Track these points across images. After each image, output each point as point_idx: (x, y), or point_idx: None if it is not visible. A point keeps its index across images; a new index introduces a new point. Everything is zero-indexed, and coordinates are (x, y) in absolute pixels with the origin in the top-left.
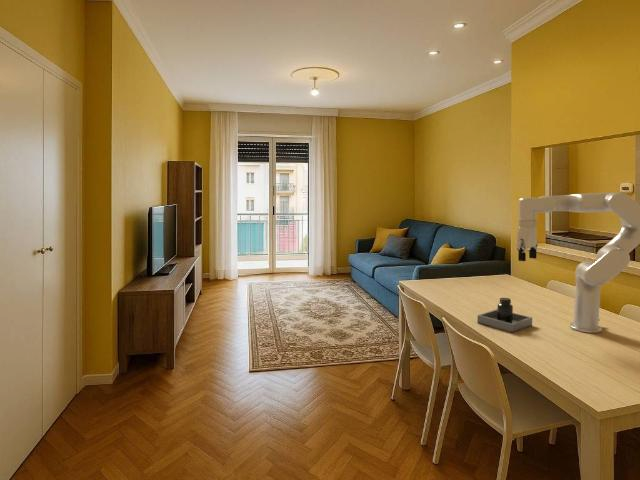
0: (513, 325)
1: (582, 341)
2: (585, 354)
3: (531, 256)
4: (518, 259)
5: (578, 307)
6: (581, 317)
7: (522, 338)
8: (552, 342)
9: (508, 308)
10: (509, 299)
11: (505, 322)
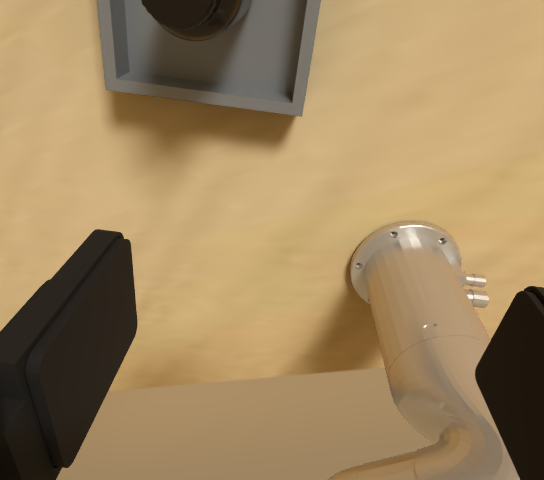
0: (116, 89)
1: (247, 287)
2: (141, 313)
3: (518, 342)
4: (89, 238)
5: (388, 312)
6: (372, 295)
7: (101, 139)
8: (158, 229)
9: (163, 27)
10: (183, 21)
11: (105, 43)
